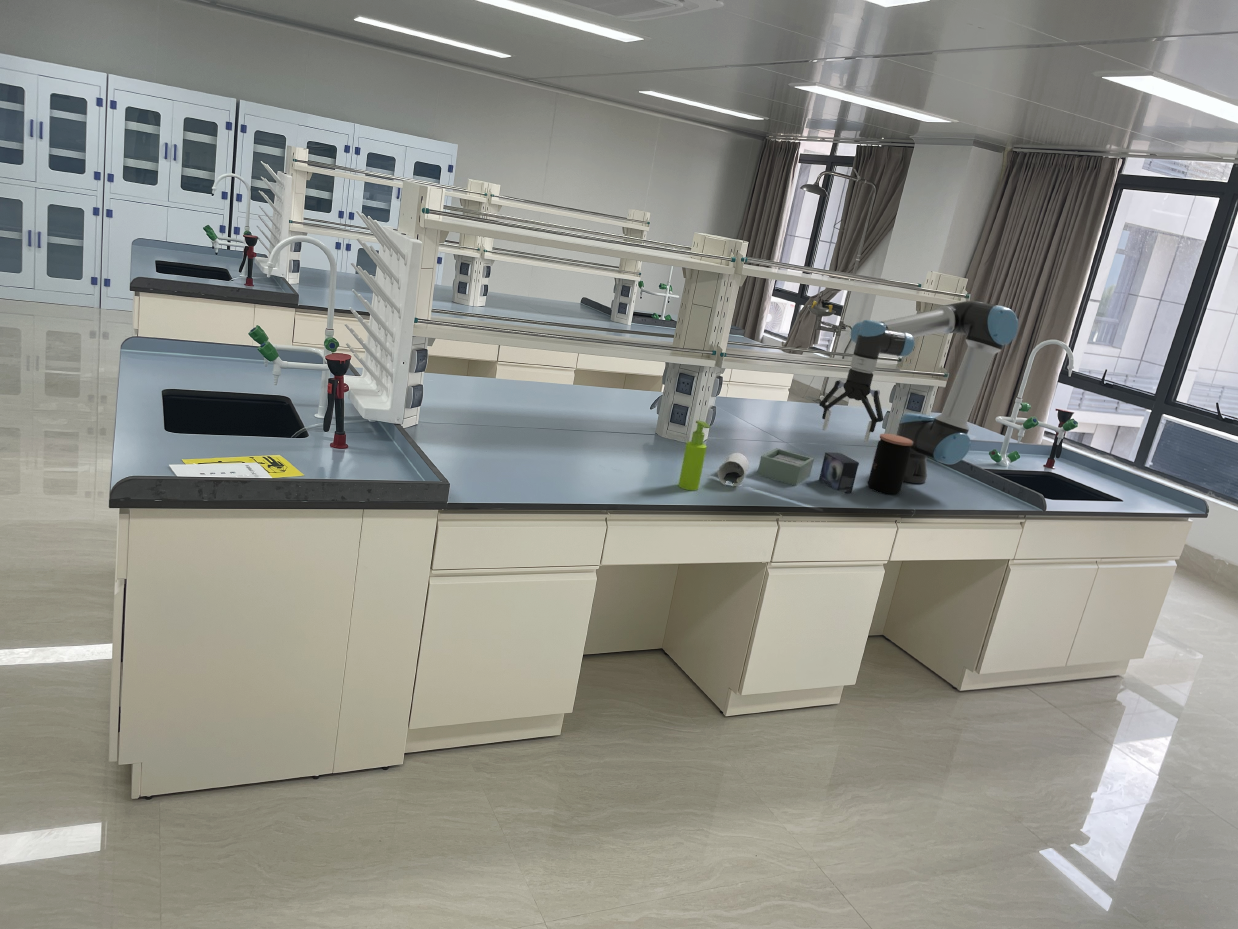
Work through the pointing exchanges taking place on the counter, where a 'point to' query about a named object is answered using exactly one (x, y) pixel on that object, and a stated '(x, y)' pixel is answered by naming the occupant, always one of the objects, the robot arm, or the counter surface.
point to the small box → (838, 471)
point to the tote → (785, 467)
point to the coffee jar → (890, 464)
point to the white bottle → (734, 467)
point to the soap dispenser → (693, 459)
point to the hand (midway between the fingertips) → (844, 435)
